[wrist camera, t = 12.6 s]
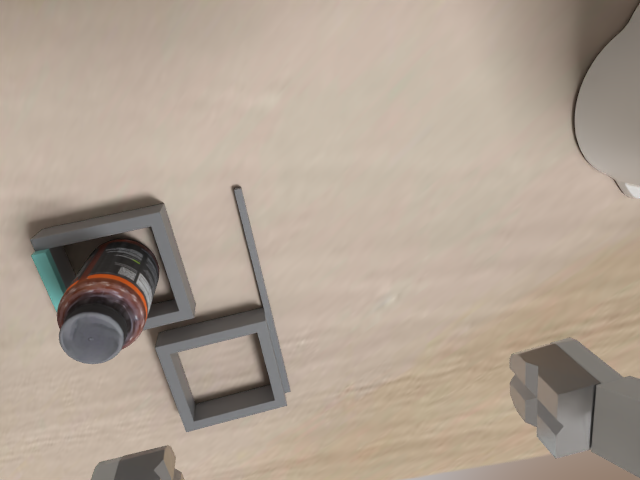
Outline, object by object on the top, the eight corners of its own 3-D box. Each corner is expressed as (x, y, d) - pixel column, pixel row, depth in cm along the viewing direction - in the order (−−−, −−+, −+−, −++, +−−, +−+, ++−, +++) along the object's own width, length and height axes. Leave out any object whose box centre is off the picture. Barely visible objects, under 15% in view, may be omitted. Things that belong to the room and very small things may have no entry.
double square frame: (240, 187, 40) (241, 197, 37) (289, 387, 48) (293, 409, 45) (41, 229, 38) (25, 243, 35) (128, 429, 47) (121, 455, 44)
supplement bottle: (91, 298, 41) (44, 379, 31) (85, 235, 39) (33, 299, 29) (162, 298, 42) (140, 375, 32) (160, 237, 40) (135, 298, 30)
